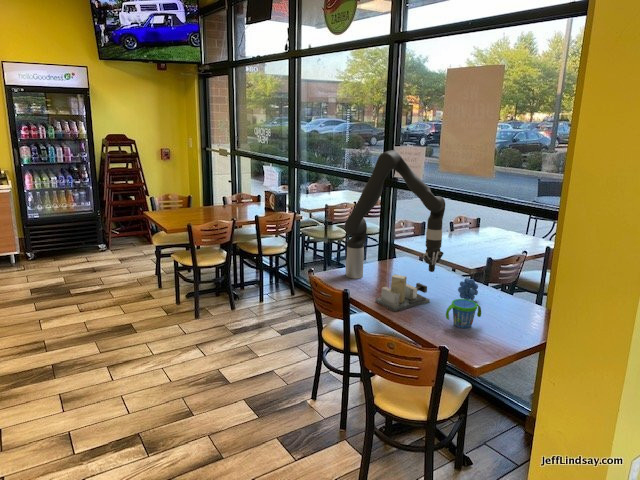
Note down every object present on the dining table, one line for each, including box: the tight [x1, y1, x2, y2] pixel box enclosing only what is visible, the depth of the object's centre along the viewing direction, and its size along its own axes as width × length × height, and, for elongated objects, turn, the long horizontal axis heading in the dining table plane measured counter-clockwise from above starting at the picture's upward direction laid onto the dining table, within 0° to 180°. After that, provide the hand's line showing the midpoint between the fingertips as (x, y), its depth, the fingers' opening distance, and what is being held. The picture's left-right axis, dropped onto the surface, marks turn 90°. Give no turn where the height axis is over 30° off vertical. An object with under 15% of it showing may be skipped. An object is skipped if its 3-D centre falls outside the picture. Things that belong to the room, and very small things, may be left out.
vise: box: [375, 286, 431, 312], centre depth 231 cm, size 14×22×8 cm, turn 122°
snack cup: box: [445, 298, 482, 329], centre depth 206 cm, size 16×10×10 cm
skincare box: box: [390, 273, 408, 303], centre depth 228 cm, size 6×4×12 cm
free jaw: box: [405, 282, 428, 301], centre depth 235 cm, size 10×11×6 cm
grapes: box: [457, 277, 479, 301], centre depth 232 cm, size 12×7×12 cm, turn 111°
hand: (431, 271), depth 238 cm, fingers closed
